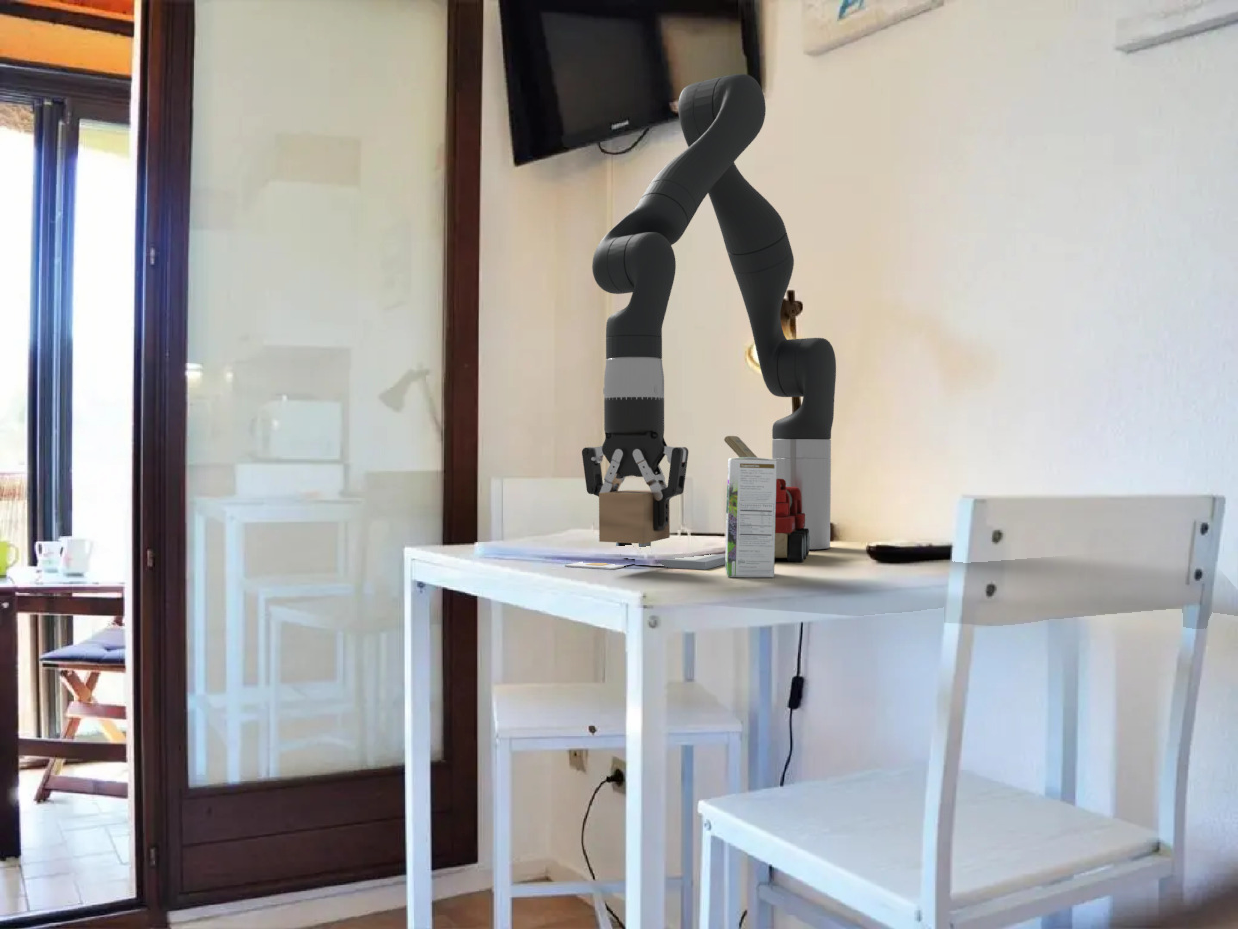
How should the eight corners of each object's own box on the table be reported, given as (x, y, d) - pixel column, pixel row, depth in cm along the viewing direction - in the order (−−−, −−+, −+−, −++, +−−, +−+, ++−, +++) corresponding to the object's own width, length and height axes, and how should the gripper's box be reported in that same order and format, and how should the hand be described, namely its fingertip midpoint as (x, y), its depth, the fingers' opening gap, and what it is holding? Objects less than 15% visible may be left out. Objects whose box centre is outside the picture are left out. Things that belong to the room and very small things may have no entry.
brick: (627, 536, 136) (626, 489, 136) (669, 537, 133) (669, 490, 133) (599, 541, 129) (599, 493, 129) (643, 543, 126) (643, 494, 126)
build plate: (664, 559, 147) (664, 551, 147) (731, 562, 143) (731, 555, 143) (634, 565, 138) (634, 557, 138) (705, 569, 134) (705, 561, 134)
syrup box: (724, 572, 131) (725, 457, 131) (771, 573, 131) (772, 457, 131) (727, 577, 126) (728, 457, 125) (776, 578, 125) (777, 457, 125)
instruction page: (596, 560, 145) (596, 558, 145) (642, 563, 142) (642, 561, 142) (564, 566, 137) (564, 564, 137) (612, 569, 134) (612, 567, 134)
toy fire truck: (810, 554, 157) (811, 437, 157) (801, 565, 142) (802, 435, 142) (735, 552, 160) (736, 437, 160) (718, 562, 145) (719, 435, 145)
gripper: (698, 395, 131) (699, 529, 131) (596, 397, 137) (597, 525, 138) (675, 393, 124) (676, 534, 125) (569, 395, 130) (570, 530, 131)
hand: (634, 529), depth 131 cm, fingers closed on brick, 6 cm apart
